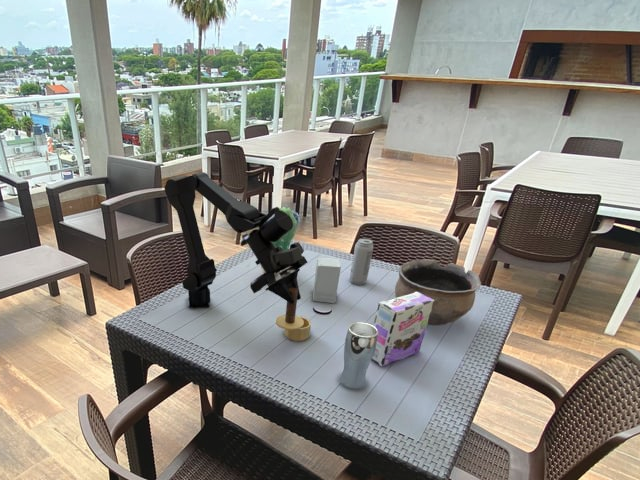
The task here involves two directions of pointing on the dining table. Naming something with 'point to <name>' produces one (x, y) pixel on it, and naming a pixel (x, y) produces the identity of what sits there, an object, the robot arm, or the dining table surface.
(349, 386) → the beer glass
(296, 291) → the peg on round base
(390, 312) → the candy box
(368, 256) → the energy drink can
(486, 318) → the dining table surface
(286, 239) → the potted cactus
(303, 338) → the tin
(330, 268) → the white packaging box
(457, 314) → the ceramic bowl
